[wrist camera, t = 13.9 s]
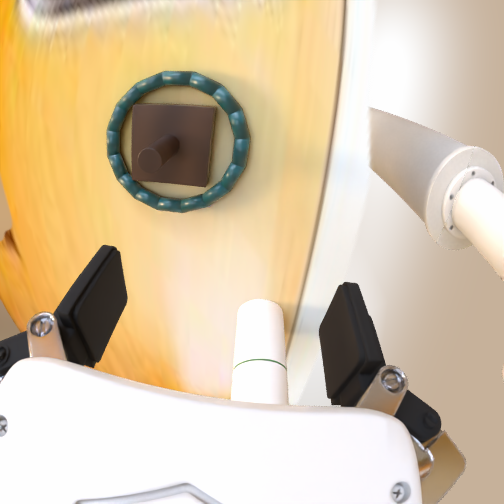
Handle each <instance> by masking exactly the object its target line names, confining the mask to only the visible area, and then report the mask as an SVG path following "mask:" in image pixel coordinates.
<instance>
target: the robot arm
mask: <svg viewBox="0 0 504 504" xmlns="http://www.w3.org/2000/svg"><path fill="white" fill-rule="evenodd" d="M442 220H443V223H444V226H445V228H446V229H447V231H448V232H449V233H450V234H451V235H452V236H454V237H456V238H459V239H466V238H467V239H468V240H469V241H470V242H471V243H472V244H473V245H474V246H475V248H476V249H477V250H478V251H479V252H480V253H481V254H482V256H483V257H484V258H485V259H486V260H487V262H488V263H489V264H490V265H491V266H492V268H493V269H494V270H495V271H496V273H497V274H498V275H499V277H500V278H501V279H502V280H503V282H504V193H502V192H501V191H500V190H498V189H497V186H496V182H495V180H494V178H493V176H492V175H491V173H490V172H488V171H487V170H485V169H484V168H482V167H478V166H472V167H468V168H466V169H464V170H462V171H461V172H460V173H459V174H458V175H456V176H455V178H454V179H453V180H452V181H451V183H450V185H449V186H448V188H447V190H446V193H445V195H444V199H443V203H442ZM127 298H128V297H127V291H126V286H125V280H124V274H123V268H122V262H121V255H120V252H119V251H117V248H116V247H114V246H108V245H103V246H102V247H101V248H100V249H99V250H98V252H97V253H96V254H95V256H94V257H93V258H92V260H91V261H90V262H89V264H88V265H87V266H86V268H85V269H84V270H83V272H82V273H81V274H80V275H79V277H78V278H77V279H76V281H75V282H74V284H73V285H72V287H71V288H70V289H69V291H68V292H67V294H66V295H65V297H64V298H63V300H62V301H61V303H60V304H59V306H58V307H57V309H56V310H55V312H54V314H52V313H50V312H40V313H37V314H35V315H34V316H33V317H32V318H31V319H30V320H29V322H28V324H27V331H25V332H22V333H20V334H17V335H15V336H12V337H10V338H7V339H5V340H2V341H0V504H437V503H438V502H439V501H440V500H441V499H442V498H443V497H444V496H445V495H446V493H447V492H448V491H449V490H450V489H451V488H452V486H453V485H454V484H455V483H456V481H457V480H458V479H459V478H460V476H461V475H462V474H463V472H464V470H465V468H466V459H465V457H464V455H463V454H462V452H461V451H460V450H459V448H458V447H457V446H456V444H455V443H454V442H453V440H452V439H451V438H450V436H449V435H448V434H447V432H446V431H445V430H444V431H442V430H441V419H440V416H439V415H438V413H437V412H436V411H435V410H434V409H432V408H431V407H430V406H429V405H427V404H426V403H425V402H423V401H422V400H421V399H419V398H418V397H417V396H415V395H414V394H413V393H411V392H410V391H409V390H407V388H408V379H407V377H406V375H405V373H404V372H403V371H402V370H400V368H398V367H396V366H392V365H387V366H386V364H385V360H384V357H383V353H382V350H381V347H380V344H379V340H378V337H377V334H376V330H375V327H374V324H373V321H372V318H371V317H370V316H369V315H368V311H367V309H366V306H365V303H364V300H363V297H362V294H361V291H360V288H359V285H358V284H357V283H350V282H344V283H343V285H339V286H338V288H337V291H336V293H335V295H334V297H333V299H332V302H331V304H330V306H329V308H328V310H327V312H326V315H325V317H324V319H323V321H322V323H321V325H320V328H319V337H320V344H321V351H322V358H323V366H324V373H325V382H326V390H327V397H328V398H329V399H331V403H332V405H341V407H327V406H298V405H279V404H266V403H255V402H246V401H237V400H229V399H222V398H215V397H208V396H202V395H196V394H191V393H185V392H180V391H175V390H170V389H166V388H161V387H157V386H152V385H148V384H144V383H140V382H136V381H132V380H129V379H125V378H121V377H118V376H114V375H111V374H107V373H104V372H101V371H97V370H94V369H91V368H88V367H85V366H84V365H86V366H89V367H92V368H94V366H95V364H96V362H97V363H98V362H99V361H100V360H101V357H102V355H103V353H104V351H105V348H106V346H107V344H108V342H109V339H110V337H111V335H112V333H113V331H114V329H115V326H116V324H117V322H118V320H119V318H120V316H121V314H122V312H123V310H124V308H125V306H126V303H127ZM502 376H503V382H504V365H503V369H502Z"/></svg>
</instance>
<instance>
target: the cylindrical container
mask: <svg viewBox="0 0 504 504" xmlns="http://www.w3.org/2000/svg"><path fill="white" fill-rule="evenodd" d="M231 400H237V401H246V402H255V403H266V404H279V405H289V403H288V384H287V366H286V349H285V334H284V320H283V311H282V309H281V307H280V306H279V305H278V304H276V303H275V302H273V301H270V300H266V299H255V300H251V301H248V302H246V303H245V304H243V305H242V306H241V307H240V309H239V311H238V318H237V330H236V342H235V354H234V366H233V379H232V392H231Z"/></svg>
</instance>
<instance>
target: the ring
mask: <svg viewBox="0 0 504 504" xmlns="http://www.w3.org/2000/svg"><path fill="white" fill-rule="evenodd" d="M165 85H183V86H191V87H194V88H196V89H198V90H200V91H202V92H204V93H206V94H208V95H210V96H212V97H213V98H214V99H215V100H216V102H217V103H218V104H219V105H220V106H221V107H222V109H223V110H224V111H225V112H226V113H227V115H228V117H229V120H230V124H231V127H232V131H233V134H234V138H235V141H234V148H233V156H232V162H231V164H230V165H229V167H228V169H227V171H226V172H225V174H224V176H223V177H222V179H221V181H220V182H218V183H217V184H216V185H214V186H213V187H212V188H210V189H209V190H207V191H206V192H205V193H204V194H201V195H197V196H193V197H189V198H186V199H174V198H165V197H160V196H158V195H156V194H154V193H152V192H150V191H148V190H146V189H144V188H142V187H141V186H140V185H139V184H138V182H137V181H136V180H132V176H131V175H130V174H129V173H128V171H127V169H126V166H125V164H124V161H123V159H122V156H121V154H120V129H121V126H122V124H123V121H124V119H125V116H126V114H127V112H128V110H129V109H130V108H131V107H132V106H133V105H134V104H135V102H136V101H137V100H138V99H139V98H140V97H141V96H143V95H144V94H145V93H148V92H150V91H152V90H155V89H157V88H160V87H162V86H165ZM249 143H250V134H249V131H248V127H247V124H246V120H245V116H244V113H243V109H242V108H241V106H240V105H239V104H238V103H237V101H236V100H235V99H234V98H233V97H232V95H231V94H230V93H229V92H228V91H227V89H226V88H225V87H224V86H223V85H222V84H220V83H218V82H216V81H214V80H212V79H209V78H207V77H205V76H203V75H201V74H199V73H197V72H191V71H163V72H161V73H158V74H156V75H153V76H151V77H149V78H146V79H144V80H142V81H140V82H137V83H136V84H135V85H134V86H133V87H132V88H131V89H130V90H129V91H128V92H127V93H126V94H125V95H124V96H123V97H122V98H121V99H120V101H119V102H118V103H117V104H116V106H115V109H114V111H113V114H112V117H111V119H110V122H109V125H108V127H107V157H108V159H109V162H110V164H111V167H112V169H113V171H114V174H115V176H116V179H117V180H118V181H119V182H120V184H121V185H122V186H123V187H124V188H125V189H126V190H127V191H128V192H129V193H130V194H131V195H132V196H133V197H134V198H135V199H136V200H138V201H140V202H142V203H144V204H146V205H148V206H150V207H152V208H154V209H156V210H162V211H170V212H179V213H185V212H189V211H193V210H197V209H201V208H205V207H208V206H210V205H212V204H213V203H214V202H216V201H217V200H218V199H220V198H221V197H223V196H224V195H225V194H227V193H228V192H230V191H231V190H232V188H233V187H234V185H235V183H236V182H237V180H238V178H239V177H240V175H241V174H242V172H243V170H244V169H245V167H246V163H247V156H248V150H249Z"/></svg>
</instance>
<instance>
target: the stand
mask: <svg viewBox="0 0 504 504" xmlns="http://www.w3.org/2000/svg"><path fill="white" fill-rule="evenodd" d="M215 114H216V107H215V106H203V105H188V104H165V103H138V104H134V105H133V114H132V180H138V181H150V182H161V183H171V184H181V185H190V186H199V187H206V186H207V184H208V179H209V168H210V158H211V148H212V139H213V130H214V122H215Z"/></svg>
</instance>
